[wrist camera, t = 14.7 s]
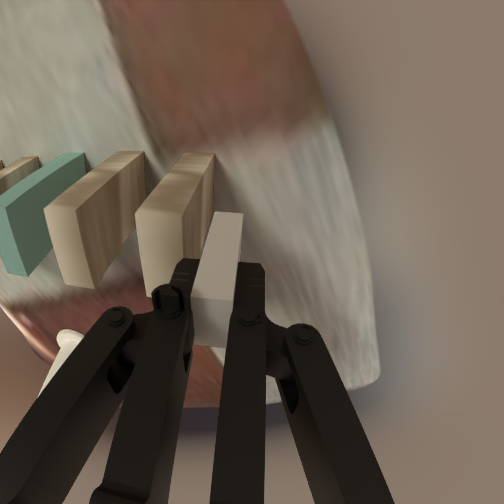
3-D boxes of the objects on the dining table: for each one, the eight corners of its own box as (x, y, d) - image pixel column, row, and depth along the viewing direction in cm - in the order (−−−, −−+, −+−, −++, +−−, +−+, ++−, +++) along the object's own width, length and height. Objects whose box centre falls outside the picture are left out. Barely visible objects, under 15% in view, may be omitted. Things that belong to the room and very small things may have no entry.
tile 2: (123, 208, 24) (65, 284, 15) (118, 151, 21) (43, 209, 13) (147, 209, 24) (94, 289, 15) (143, 151, 21) (75, 210, 13)
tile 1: (185, 212, 24) (147, 296, 16) (185, 152, 21) (134, 213, 13) (212, 214, 24) (186, 301, 16) (214, 153, 21) (181, 216, 13)
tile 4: (31, 205, 23) (-32, 264, 15) (22, 157, 21) (-52, 207, 12) (46, 205, 24) (-18, 267, 15) (37, 155, 21) (-39, 207, 12)
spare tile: (71, 205, 24) (7, 272, 15) (63, 153, 21) (-16, 207, 12) (91, 206, 24) (27, 277, 15) (84, 152, 21) (5, 207, 13)
